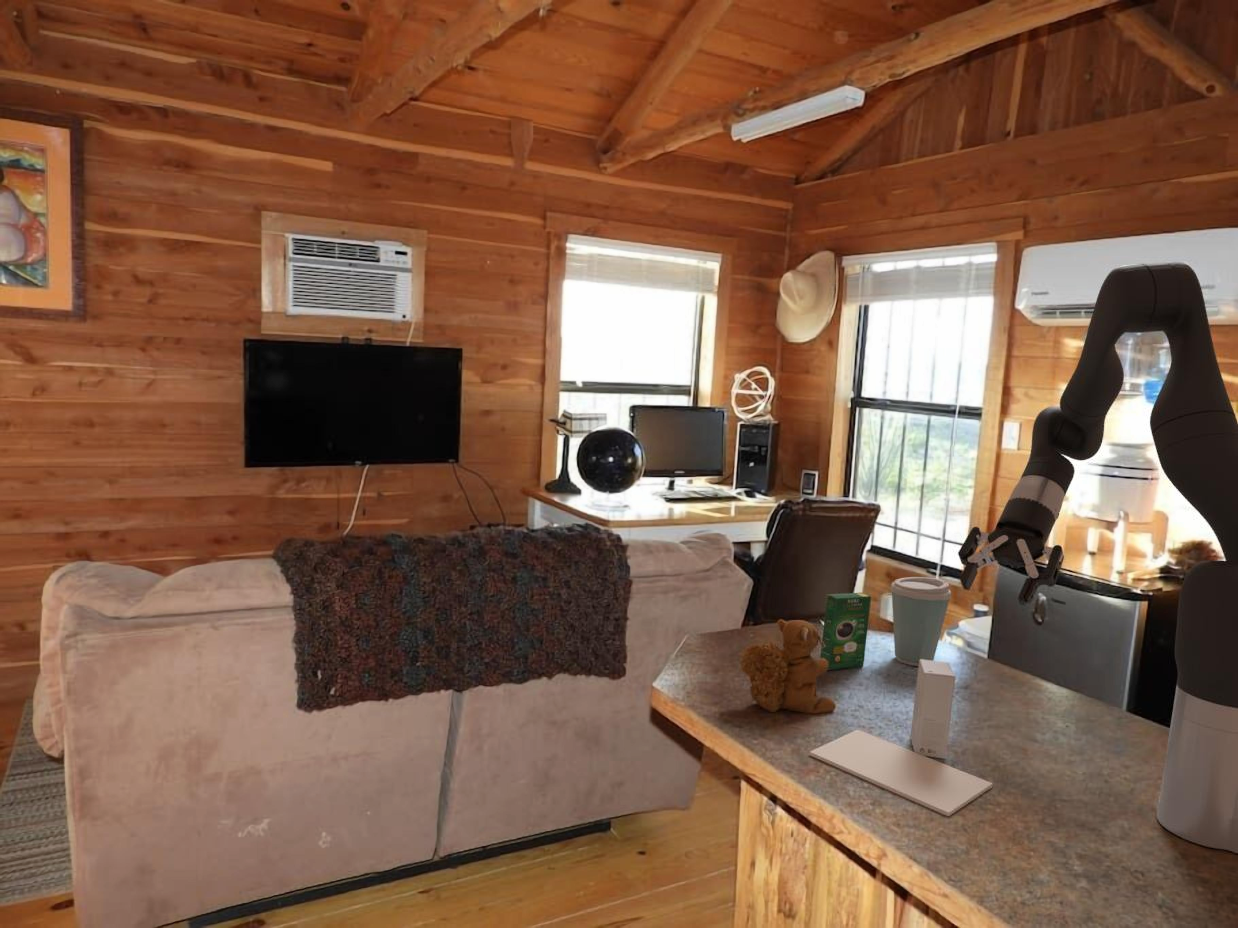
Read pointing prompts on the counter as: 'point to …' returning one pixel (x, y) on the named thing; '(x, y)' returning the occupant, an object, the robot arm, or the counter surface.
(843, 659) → the coffee box
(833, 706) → the stuffed squirrel
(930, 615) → the disposable coffee cup
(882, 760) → the flat beige rectangular board
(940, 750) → the skincare box
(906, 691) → the counter surface
